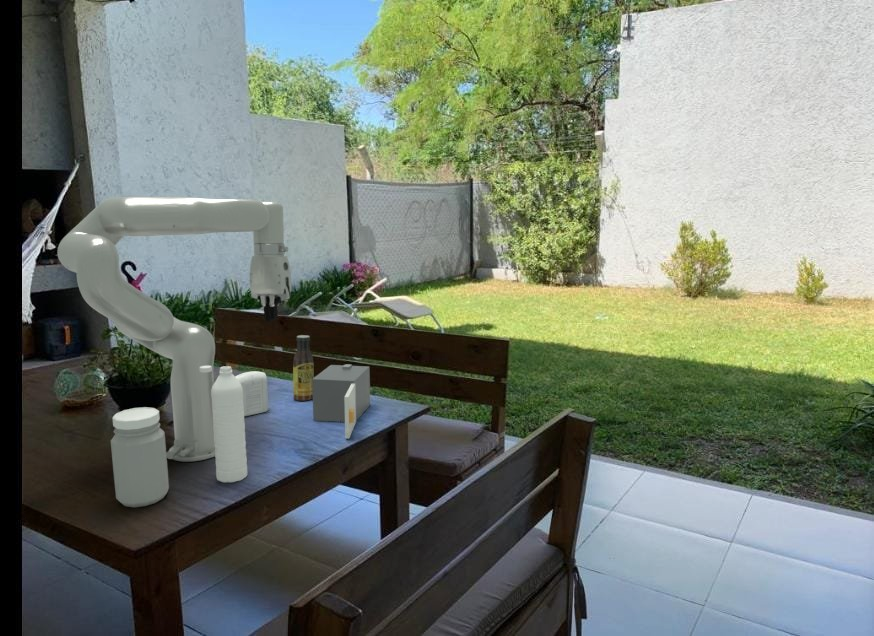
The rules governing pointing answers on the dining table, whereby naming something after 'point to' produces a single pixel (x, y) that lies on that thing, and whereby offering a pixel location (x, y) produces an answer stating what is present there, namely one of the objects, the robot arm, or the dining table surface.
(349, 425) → the side door
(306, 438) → the dining table surface
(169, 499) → the dining table surface
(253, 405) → the photo printer
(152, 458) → the jar
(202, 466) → the dining table surface
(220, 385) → the water bottle
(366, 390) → the gray box
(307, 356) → the sauce bottle
